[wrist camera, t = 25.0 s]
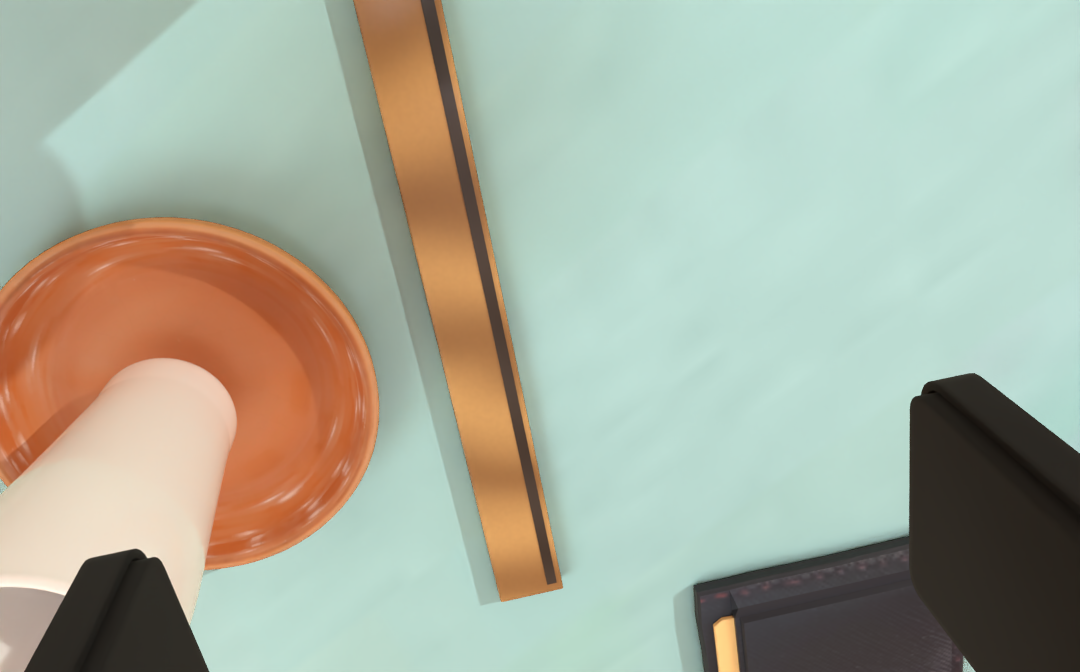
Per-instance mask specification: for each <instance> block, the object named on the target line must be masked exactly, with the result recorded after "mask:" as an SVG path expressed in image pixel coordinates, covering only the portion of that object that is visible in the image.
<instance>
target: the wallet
mask: <svg viewBox="0 0 1080 672" xmlns="http://www.w3.org/2000/svg"><path fill="white" fill-rule="evenodd" d="M694 599H695V615H696V621H697V627H698V632H699V638H700V644H701V649H702V656H703V664H704V672H963V654H962V653H961V652H960V650H959V649H958V648H957V646H956V645H955V644H954V642H953V641H952V640H951V639H950V637H949V636H948V635H947V633H946V632H945V631H944V629H943V628H942V627H941V625H940V624H939V623H938V621H937V620H936V619H935V617H934V616H933V615H932V614H931V612H930V611H929V610H928V608H927V607H926V606H925V604H924V603H923V602H922V600H921V599H920V597H919V596H918V594H917V592H916V590H915V588H914V586H913V583H912V580H911V576H910V570H909V536H908V537H904V538H900V539H895V540H891V541H887V542H883V543H878V544H874V545H870V546H866V547H862V548H857V549H853V550H849V551H845V552H841V553H836V554H832V555H828V556H824V557H819V558H814V559H809V560H805V561H800V562H795V563H791V564H786V565H781V566H776V567H772V568H767V569H762V570H758V571H753V572H749V573H745V574H741V575H737V576H733V577H728V578H724V579H720V580H715V581H711V582H706V583H702V584H697V585H694Z"/></svg>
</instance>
